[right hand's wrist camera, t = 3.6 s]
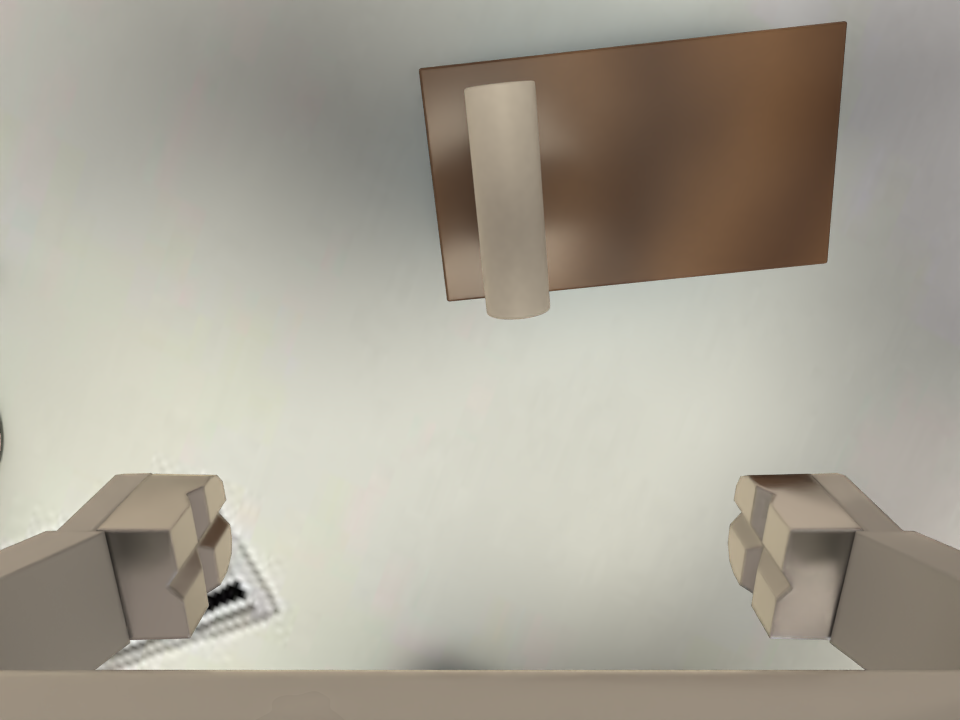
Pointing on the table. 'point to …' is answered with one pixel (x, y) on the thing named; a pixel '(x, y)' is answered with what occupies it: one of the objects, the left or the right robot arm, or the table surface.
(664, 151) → the lid
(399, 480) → the table surface
